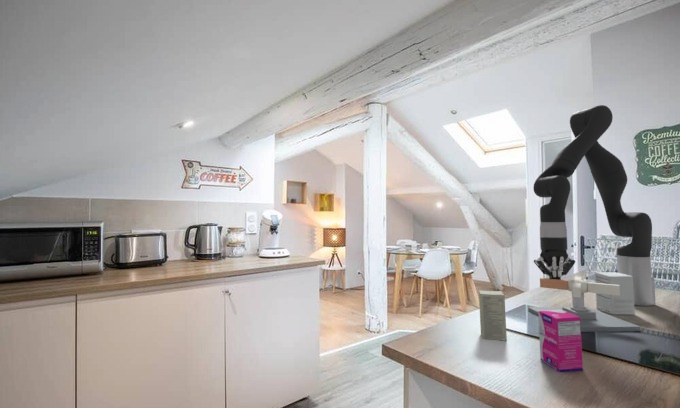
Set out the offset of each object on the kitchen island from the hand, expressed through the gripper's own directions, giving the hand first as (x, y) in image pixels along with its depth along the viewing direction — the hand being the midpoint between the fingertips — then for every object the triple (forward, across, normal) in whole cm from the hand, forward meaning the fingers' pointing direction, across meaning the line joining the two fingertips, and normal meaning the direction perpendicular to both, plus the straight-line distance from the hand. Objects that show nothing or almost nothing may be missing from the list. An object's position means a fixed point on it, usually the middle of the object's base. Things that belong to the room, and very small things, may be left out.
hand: (555, 287), depth 107 cm
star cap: (0, -3, +6) cm, 7 cm away
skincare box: (+9, +30, +19) cm, 36 cm away
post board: (+9, -3, +6) cm, 11 cm away
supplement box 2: (+9, -21, -2) cm, 23 cm away
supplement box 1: (+9, +23, +36) cm, 44 cm away
